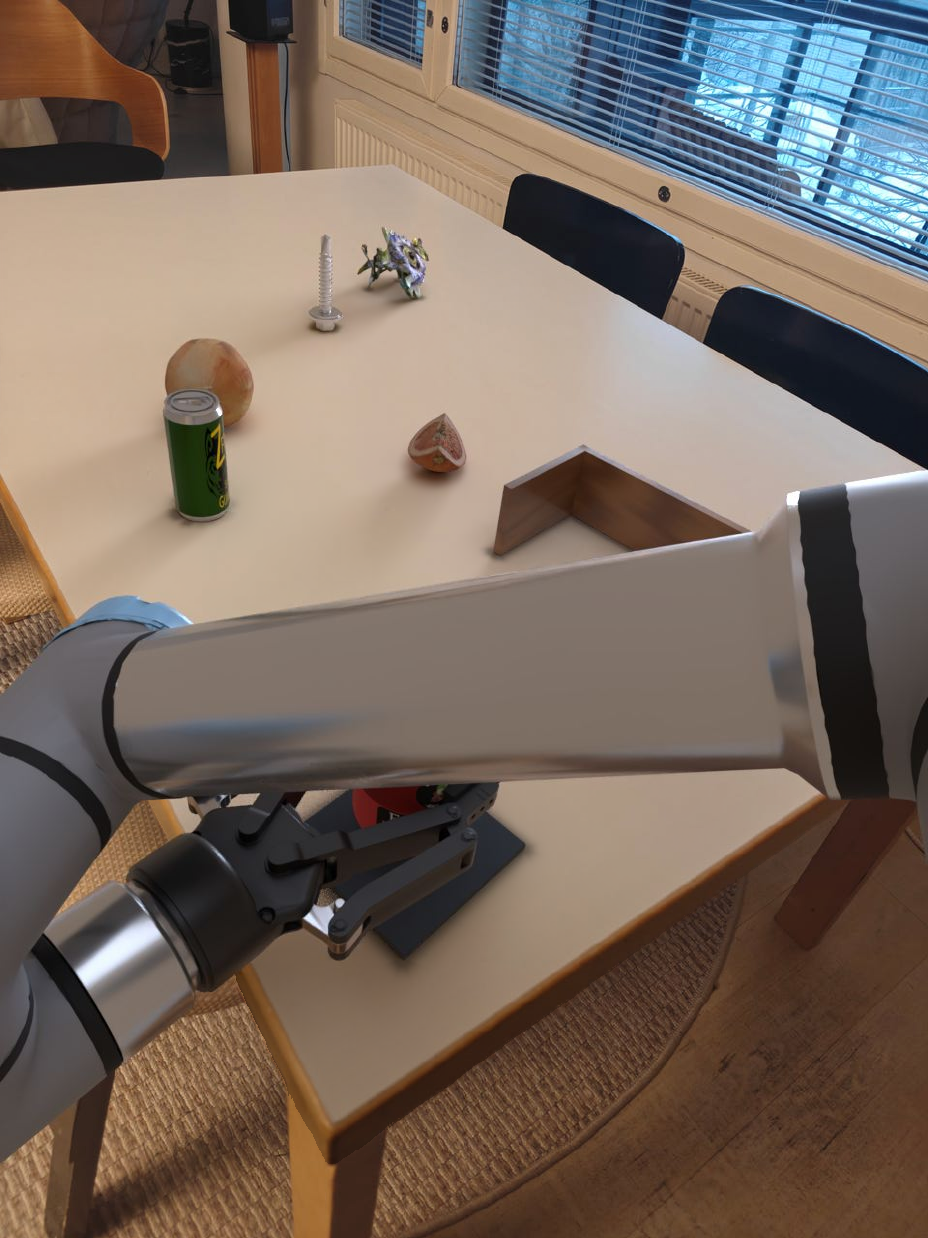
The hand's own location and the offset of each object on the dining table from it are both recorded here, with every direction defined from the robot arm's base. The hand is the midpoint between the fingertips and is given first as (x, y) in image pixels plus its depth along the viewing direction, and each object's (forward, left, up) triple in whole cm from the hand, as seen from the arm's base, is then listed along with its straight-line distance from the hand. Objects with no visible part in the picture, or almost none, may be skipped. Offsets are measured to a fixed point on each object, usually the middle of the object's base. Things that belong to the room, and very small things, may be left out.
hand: (467, 713), depth 57 cm
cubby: (+7, -32, -10) cm, 34 cm away
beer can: (+43, -8, -10) cm, 45 cm away
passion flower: (+76, -66, -10) cm, 101 cm away
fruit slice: (+34, -33, -10) cm, 49 cm away
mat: (0, +5, -10) cm, 11 cm away
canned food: (0, +5, -6) cm, 8 cm away
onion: (+57, -19, -10) cm, 61 cm away
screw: (+71, -48, -10) cm, 86 cm away
